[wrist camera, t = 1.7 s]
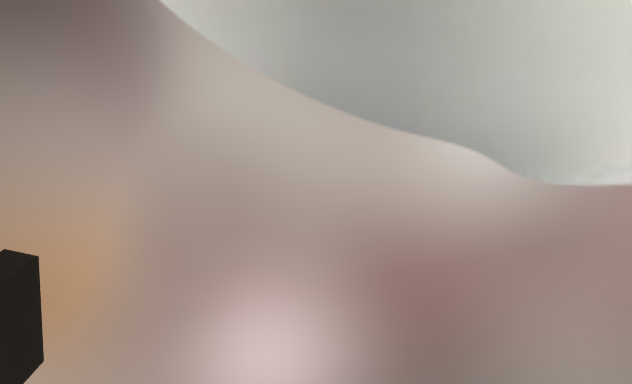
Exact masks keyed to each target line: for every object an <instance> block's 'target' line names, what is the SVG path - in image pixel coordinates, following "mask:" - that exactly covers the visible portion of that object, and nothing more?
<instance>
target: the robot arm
mask: <svg viewBox="0 0 632 384" xmlns="http://www.w3.org/2000/svg"><path fill="white" fill-rule="evenodd" d="M43 356H44V355H43V336H42V316H41V296H40V277H39V257H38V256H34V255H30V254H25V253H20V252H16V251H11V250H6V249H4V250H2V251H1V252H0V384H23V383H24V382H25V381H26V380H27V379H28V378H29V377H30V376H31V375H32V373H33V372H34V371H35V370H36V369H37V368H38V367H39V365H41V364H42V362H43V361H44V357H43Z"/></svg>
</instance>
